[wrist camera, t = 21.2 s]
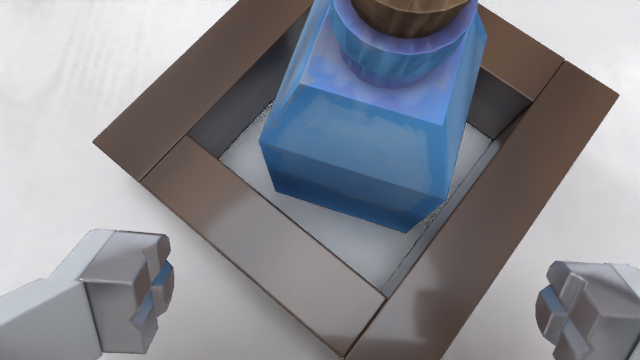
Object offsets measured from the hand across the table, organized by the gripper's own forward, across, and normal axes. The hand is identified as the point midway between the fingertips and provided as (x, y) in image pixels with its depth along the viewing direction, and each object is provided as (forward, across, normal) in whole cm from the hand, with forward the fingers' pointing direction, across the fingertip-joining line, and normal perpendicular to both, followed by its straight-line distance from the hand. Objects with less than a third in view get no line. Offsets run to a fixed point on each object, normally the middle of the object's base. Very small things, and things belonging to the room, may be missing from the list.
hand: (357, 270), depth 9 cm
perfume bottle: (+12, -1, +2) cm, 12 cm away
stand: (+11, 0, +2) cm, 12 cm away
